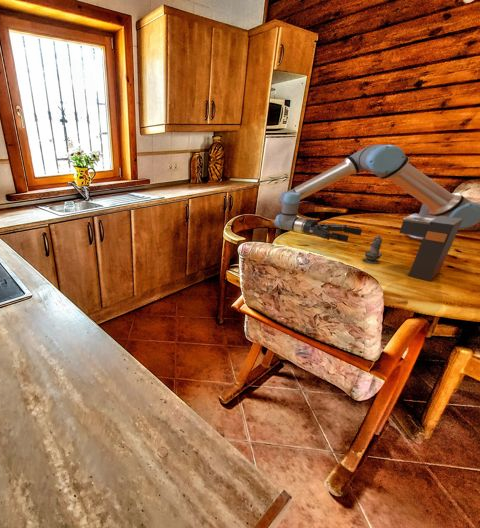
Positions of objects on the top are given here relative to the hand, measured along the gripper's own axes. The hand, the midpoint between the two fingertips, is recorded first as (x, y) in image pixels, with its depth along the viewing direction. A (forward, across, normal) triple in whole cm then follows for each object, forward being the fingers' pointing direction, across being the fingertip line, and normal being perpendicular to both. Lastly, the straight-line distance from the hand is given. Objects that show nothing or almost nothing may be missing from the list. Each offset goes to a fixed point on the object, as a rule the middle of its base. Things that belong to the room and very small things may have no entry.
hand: (354, 235), depth 126 cm
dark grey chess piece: (+9, +1, -10) cm, 13 cm away
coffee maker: (+22, +1, -10) cm, 24 cm away
